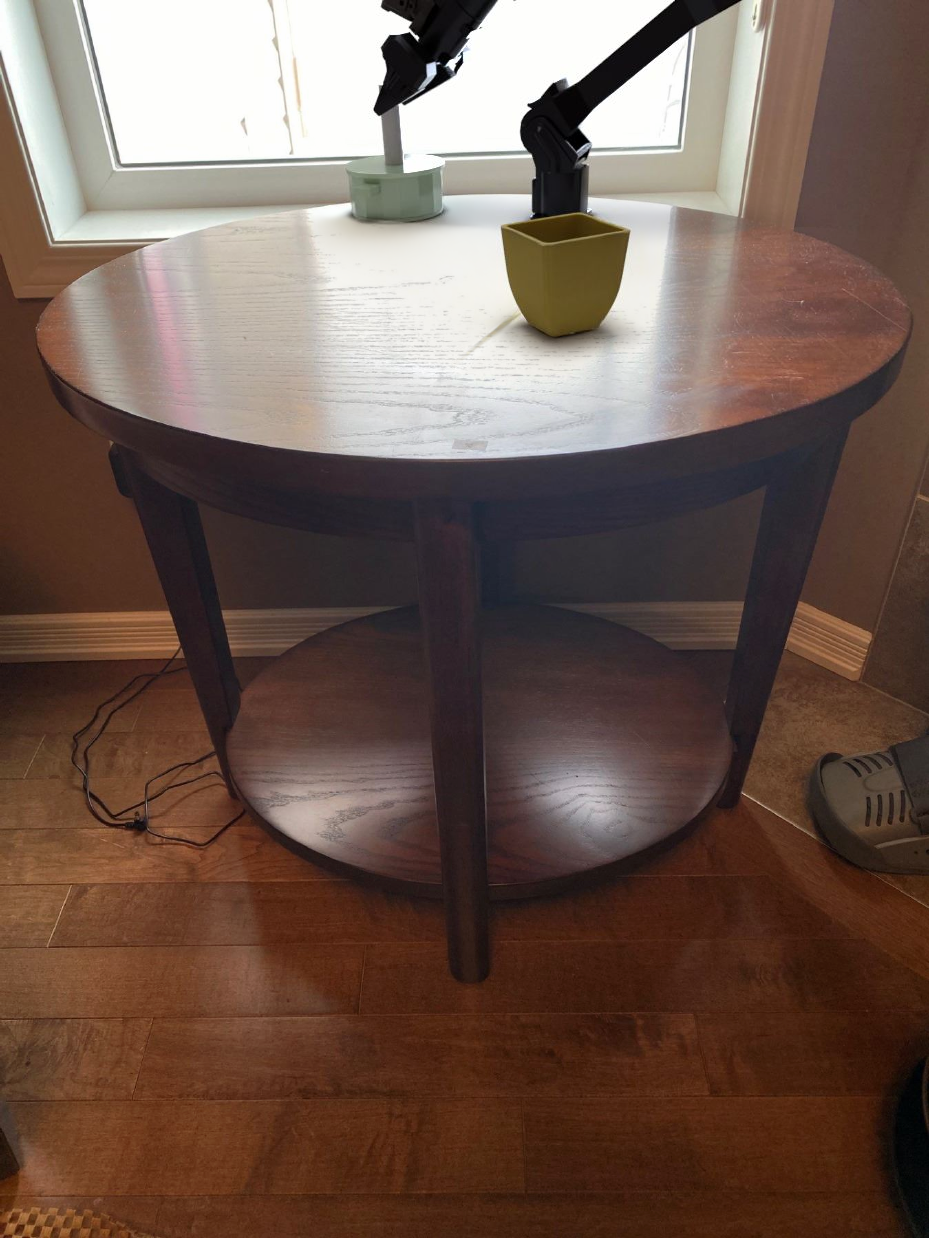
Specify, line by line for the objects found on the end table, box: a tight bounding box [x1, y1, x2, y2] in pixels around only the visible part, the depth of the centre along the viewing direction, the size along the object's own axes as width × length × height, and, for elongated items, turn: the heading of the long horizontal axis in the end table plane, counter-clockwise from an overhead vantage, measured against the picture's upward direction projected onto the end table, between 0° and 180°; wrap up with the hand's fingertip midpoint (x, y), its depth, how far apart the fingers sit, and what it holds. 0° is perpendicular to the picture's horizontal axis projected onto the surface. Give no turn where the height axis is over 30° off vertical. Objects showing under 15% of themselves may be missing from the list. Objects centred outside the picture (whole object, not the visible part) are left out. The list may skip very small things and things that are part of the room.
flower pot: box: [500, 213, 631, 338], centre depth 83 cm, size 9×9×9 cm
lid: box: [344, 82, 446, 179], centre depth 120 cm, size 14×14×11 cm
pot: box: [347, 169, 445, 223], centre depth 125 cm, size 13×18×6 cm
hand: (389, 108), depth 119 cm, fingers open, 9 cm apart
